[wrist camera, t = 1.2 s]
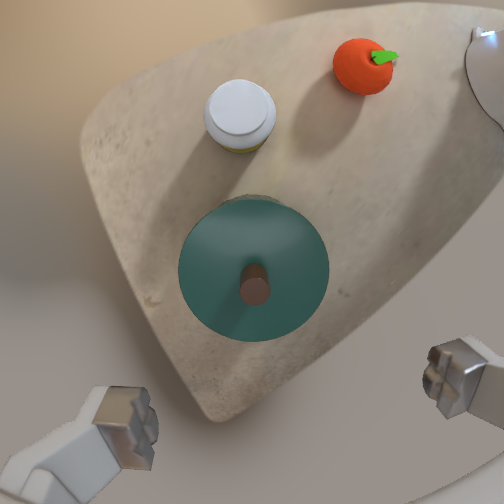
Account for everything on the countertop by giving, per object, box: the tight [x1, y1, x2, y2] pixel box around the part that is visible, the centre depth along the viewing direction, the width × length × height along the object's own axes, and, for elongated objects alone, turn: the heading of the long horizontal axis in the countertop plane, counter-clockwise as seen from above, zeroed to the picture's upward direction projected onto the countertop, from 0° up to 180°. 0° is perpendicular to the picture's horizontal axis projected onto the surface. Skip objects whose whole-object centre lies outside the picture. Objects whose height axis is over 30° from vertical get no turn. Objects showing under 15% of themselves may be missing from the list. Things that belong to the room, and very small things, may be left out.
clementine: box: [333, 39, 399, 95], centre depth 28 cm, size 8×7×7 cm
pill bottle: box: [204, 79, 276, 153], centre depth 27 cm, size 6×6×12 cm
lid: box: [178, 199, 329, 342], centre depth 26 cm, size 14×14×5 cm
